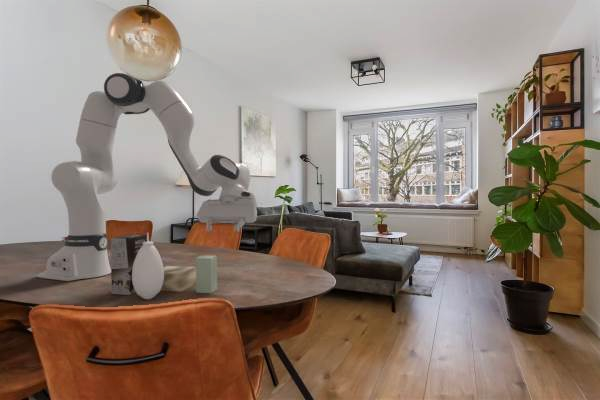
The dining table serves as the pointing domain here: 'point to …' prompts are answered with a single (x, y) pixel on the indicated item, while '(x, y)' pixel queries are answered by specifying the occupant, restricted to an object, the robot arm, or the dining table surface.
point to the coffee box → (124, 262)
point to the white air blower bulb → (148, 271)
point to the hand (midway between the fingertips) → (222, 230)
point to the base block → (178, 278)
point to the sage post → (206, 273)
